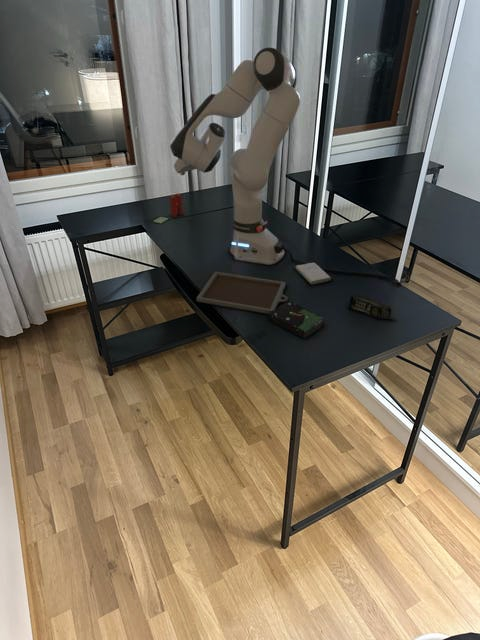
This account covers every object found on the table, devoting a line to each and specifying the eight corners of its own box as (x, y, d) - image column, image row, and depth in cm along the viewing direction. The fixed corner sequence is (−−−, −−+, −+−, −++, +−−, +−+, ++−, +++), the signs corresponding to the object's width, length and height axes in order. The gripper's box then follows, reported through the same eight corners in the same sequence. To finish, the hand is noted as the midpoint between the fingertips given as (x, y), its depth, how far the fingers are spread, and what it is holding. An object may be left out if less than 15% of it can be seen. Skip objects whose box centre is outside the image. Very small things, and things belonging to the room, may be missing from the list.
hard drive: (310, 285, 157) (295, 269, 167) (330, 280, 160) (314, 265, 169) (311, 281, 156) (295, 265, 166) (331, 277, 159) (314, 261, 168)
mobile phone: (349, 296, 142) (394, 310, 135) (353, 292, 144) (397, 305, 137) (347, 309, 145) (392, 323, 138) (351, 305, 147) (395, 318, 140)
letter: (182, 214, 210) (181, 194, 204) (174, 217, 208) (172, 197, 202) (179, 213, 212) (177, 193, 206) (171, 215, 209) (169, 195, 203)
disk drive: (268, 320, 140) (305, 339, 132) (268, 313, 138) (305, 331, 130) (287, 307, 146) (324, 324, 138) (288, 300, 145) (325, 317, 136)
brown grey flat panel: (214, 271, 162) (293, 283, 155) (214, 274, 163) (292, 287, 156) (195, 297, 148) (281, 312, 140) (196, 301, 148) (281, 316, 141)
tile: (168, 218, 206) (168, 218, 206) (160, 223, 202) (160, 223, 202) (160, 216, 208) (160, 216, 208) (152, 221, 204) (152, 221, 204)
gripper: (218, 142, 182) (206, 160, 194) (178, 151, 172) (167, 170, 184) (225, 155, 182) (212, 173, 194) (185, 165, 172) (174, 183, 184)
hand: (190, 171), depth 189 cm, fingers open, 8 cm apart
